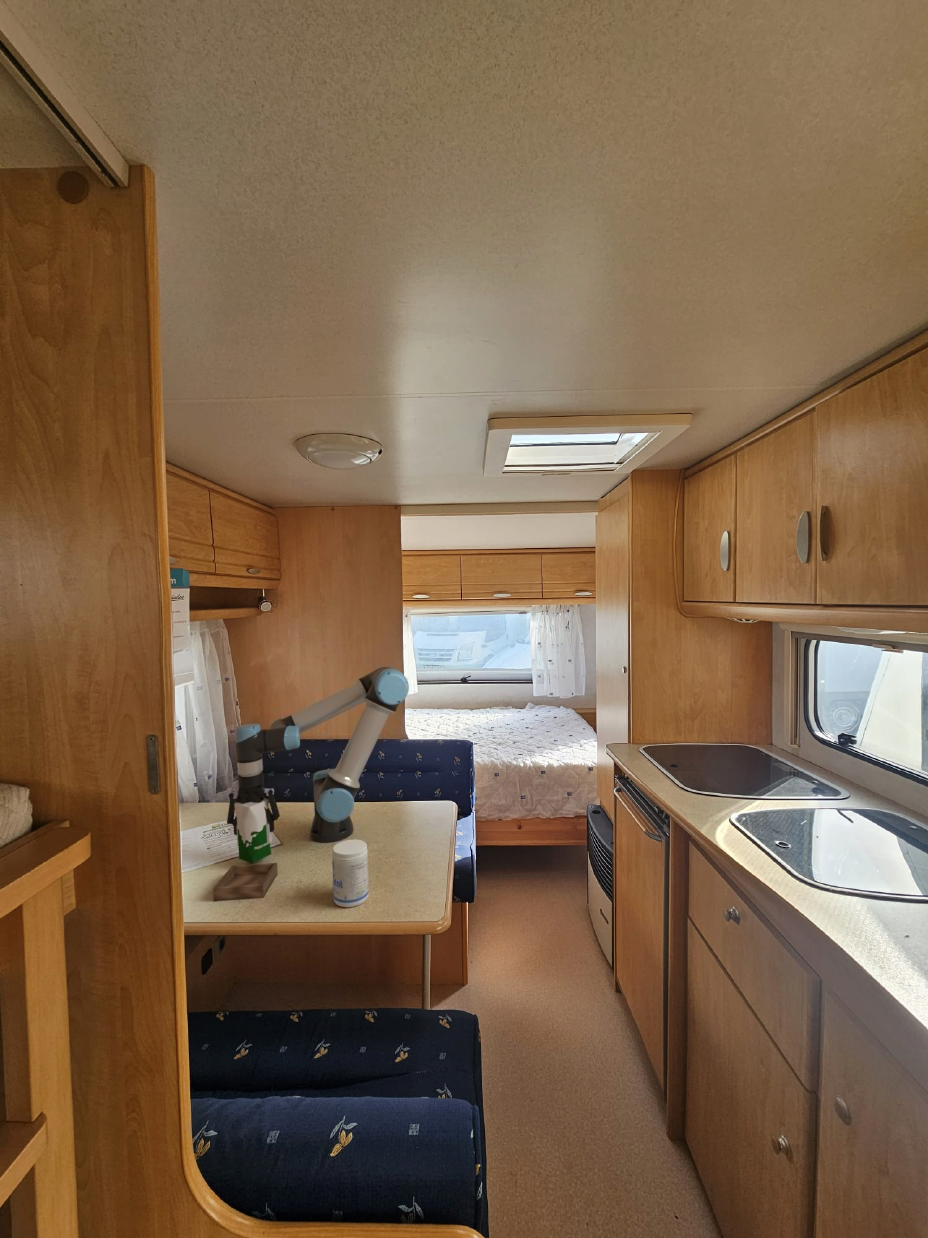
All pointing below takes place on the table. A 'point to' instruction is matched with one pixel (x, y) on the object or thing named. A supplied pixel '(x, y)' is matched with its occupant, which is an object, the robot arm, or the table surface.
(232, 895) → the tray
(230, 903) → the table surface
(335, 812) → the robot arm
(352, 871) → the supplement tub
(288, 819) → the table surface
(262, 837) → the soya milk
